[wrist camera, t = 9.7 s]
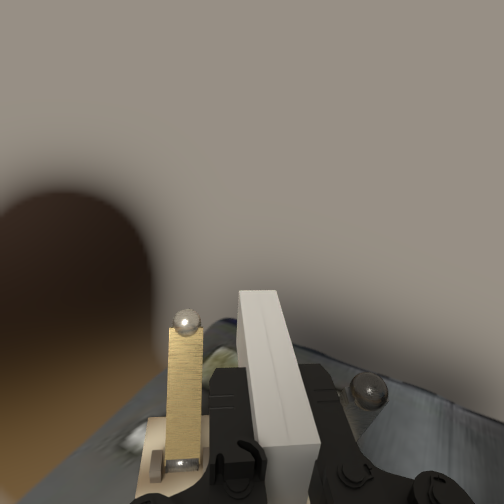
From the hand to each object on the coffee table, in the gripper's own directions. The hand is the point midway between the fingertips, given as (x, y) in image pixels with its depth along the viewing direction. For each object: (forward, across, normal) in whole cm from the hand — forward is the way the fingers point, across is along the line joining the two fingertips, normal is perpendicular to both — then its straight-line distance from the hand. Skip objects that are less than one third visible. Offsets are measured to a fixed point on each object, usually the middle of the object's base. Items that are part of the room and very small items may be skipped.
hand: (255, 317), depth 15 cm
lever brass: (+9, -4, -24) cm, 26 cm away
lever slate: (+9, +10, -24) cm, 28 cm away
